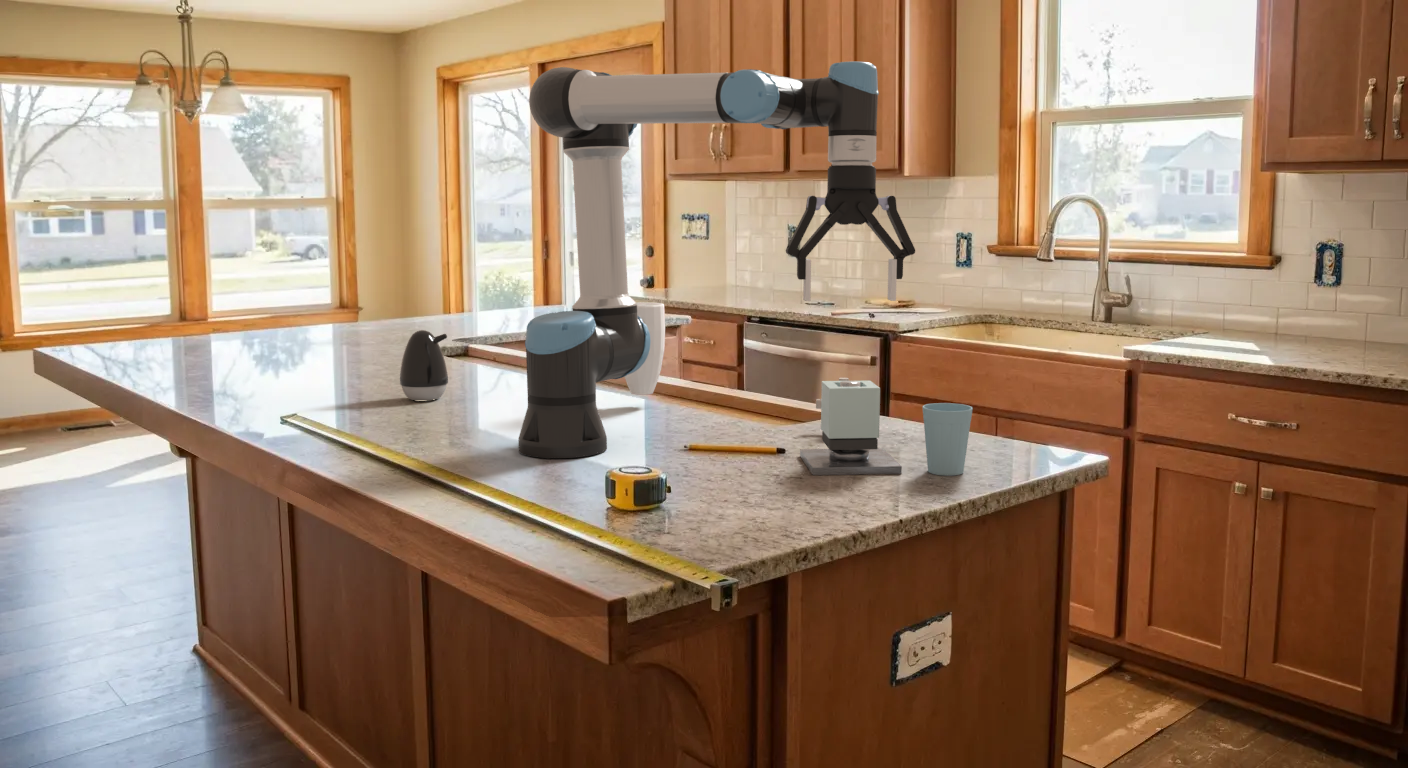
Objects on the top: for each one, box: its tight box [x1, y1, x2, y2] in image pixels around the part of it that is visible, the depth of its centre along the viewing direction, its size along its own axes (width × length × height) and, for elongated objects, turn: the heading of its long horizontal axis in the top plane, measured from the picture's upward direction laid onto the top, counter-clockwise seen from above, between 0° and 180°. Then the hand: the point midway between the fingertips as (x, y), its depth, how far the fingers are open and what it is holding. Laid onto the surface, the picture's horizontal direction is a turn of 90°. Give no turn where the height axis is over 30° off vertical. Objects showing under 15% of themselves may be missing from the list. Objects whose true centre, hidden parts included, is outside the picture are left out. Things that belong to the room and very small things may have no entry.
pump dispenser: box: [399, 329, 449, 401], centre depth 255 cm, size 10×10×15 cm
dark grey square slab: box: [821, 430, 879, 450], centre depth 191 cm, size 8×8×2 cm
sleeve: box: [820, 380, 881, 439], centre depth 190 cm, size 8×8×8 cm
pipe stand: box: [799, 380, 903, 476], centre depth 190 cm, size 14×14×14 cm
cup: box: [922, 402, 973, 477], centre depth 185 cm, size 8×8×10 cm
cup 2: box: [624, 301, 666, 396], centre depth 245 cm, size 10×10×22 cm
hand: (849, 300), depth 187 cm, fingers open, 13 cm apart
